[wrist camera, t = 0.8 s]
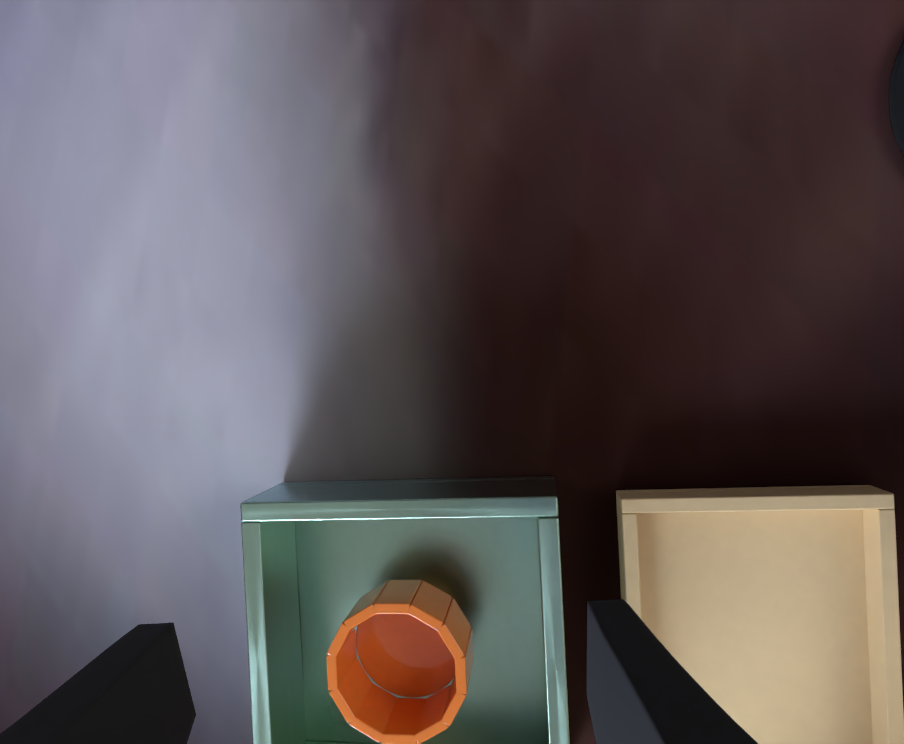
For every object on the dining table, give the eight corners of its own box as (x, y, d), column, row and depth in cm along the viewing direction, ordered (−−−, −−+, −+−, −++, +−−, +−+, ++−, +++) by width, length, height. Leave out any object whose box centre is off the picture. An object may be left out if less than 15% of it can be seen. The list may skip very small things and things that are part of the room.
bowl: (480, 682, 27) (469, 747, 22) (363, 680, 27) (330, 742, 23) (474, 562, 26) (462, 603, 22) (357, 563, 27) (323, 603, 23)
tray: (886, 850, 25) (911, 886, 23) (632, 836, 26) (638, 868, 25) (870, 484, 25) (894, 493, 23) (615, 490, 26) (621, 498, 24)
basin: (568, 759, 27) (574, 831, 23) (296, 748, 28) (256, 813, 24) (554, 475, 27) (557, 495, 22) (281, 482, 28) (239, 502, 24)
